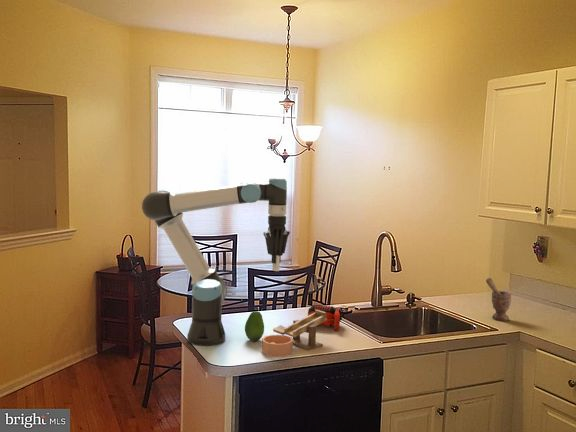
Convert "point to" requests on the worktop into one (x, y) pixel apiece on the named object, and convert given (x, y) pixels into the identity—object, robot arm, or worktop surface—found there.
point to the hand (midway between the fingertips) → (275, 270)
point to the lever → (302, 324)
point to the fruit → (254, 326)
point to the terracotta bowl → (277, 345)
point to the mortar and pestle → (499, 302)
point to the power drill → (328, 315)
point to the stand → (305, 342)
